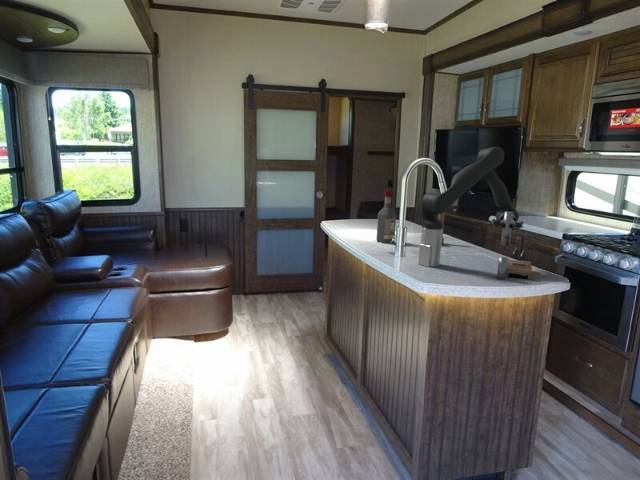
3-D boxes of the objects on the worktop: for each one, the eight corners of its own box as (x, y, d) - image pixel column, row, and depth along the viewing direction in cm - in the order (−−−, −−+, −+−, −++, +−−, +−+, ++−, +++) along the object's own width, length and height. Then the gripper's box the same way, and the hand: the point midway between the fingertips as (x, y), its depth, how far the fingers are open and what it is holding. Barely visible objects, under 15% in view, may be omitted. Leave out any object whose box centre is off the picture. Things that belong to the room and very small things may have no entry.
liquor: (374, 241, 261) (377, 190, 255) (384, 239, 267) (387, 189, 261) (386, 244, 254) (389, 191, 249) (396, 242, 260) (399, 190, 255)
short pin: (503, 280, 185) (505, 259, 183) (495, 278, 188) (497, 257, 186) (507, 279, 187) (509, 258, 186) (499, 277, 190) (501, 256, 188)
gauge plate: (531, 280, 187) (532, 270, 186) (505, 276, 191) (506, 267, 190) (529, 270, 203) (530, 261, 202) (505, 267, 207) (506, 259, 206)
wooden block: (424, 243, 259) (426, 212, 256) (439, 242, 263) (442, 212, 260) (428, 244, 256) (430, 213, 253) (443, 244, 260) (446, 213, 257)
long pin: (507, 246, 196) (510, 212, 193) (499, 245, 199) (502, 211, 196) (510, 245, 198) (514, 212, 196) (503, 244, 201) (506, 211, 198)
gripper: (492, 211, 212) (491, 216, 196) (524, 214, 207) (526, 219, 191) (490, 227, 213) (489, 233, 198) (522, 230, 208) (524, 236, 192)
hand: (507, 226), depth 194 cm, fingers closed on long pin, 3 cm apart
